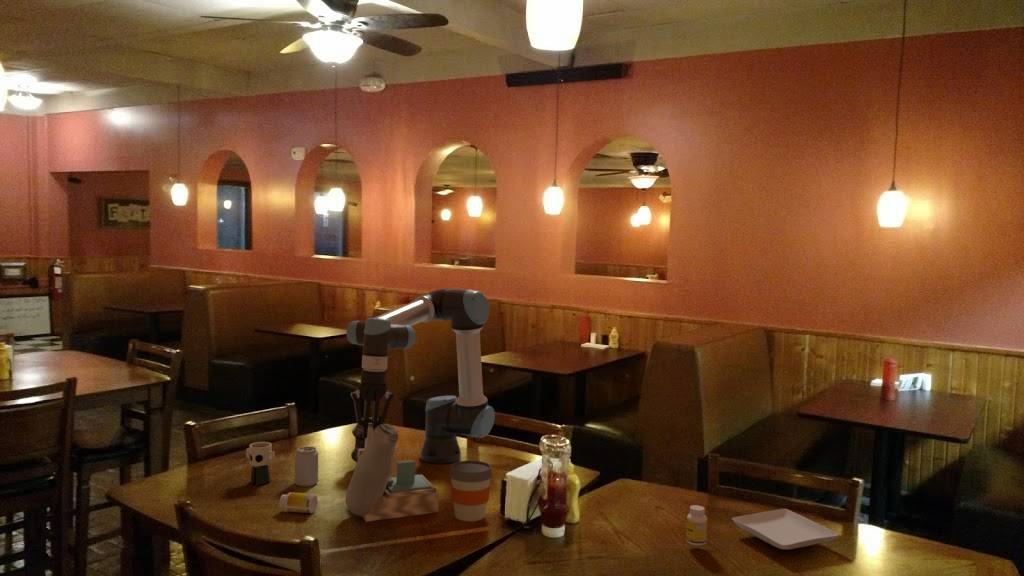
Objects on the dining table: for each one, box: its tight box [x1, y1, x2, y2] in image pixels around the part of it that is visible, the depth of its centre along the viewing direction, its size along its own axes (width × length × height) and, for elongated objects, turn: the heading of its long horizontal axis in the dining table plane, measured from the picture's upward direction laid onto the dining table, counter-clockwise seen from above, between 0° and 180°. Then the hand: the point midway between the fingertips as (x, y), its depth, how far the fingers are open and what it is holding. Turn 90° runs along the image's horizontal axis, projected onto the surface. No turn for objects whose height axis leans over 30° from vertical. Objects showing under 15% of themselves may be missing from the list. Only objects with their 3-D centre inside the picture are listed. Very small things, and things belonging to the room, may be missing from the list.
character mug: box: [245, 441, 276, 486], centre depth 245 cm, size 11×7×13 cm, turn 72°
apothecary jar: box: [350, 417, 372, 463], centre depth 261 cm, size 12×12×18 cm
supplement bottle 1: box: [279, 491, 319, 514], centre depth 221 cm, size 6×6×10 cm
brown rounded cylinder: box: [345, 423, 399, 517], centre depth 217 cm, size 10×10×28 cm
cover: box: [386, 459, 430, 493], centre depth 227 cm, size 12×12×8 cm
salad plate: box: [731, 508, 840, 550], centre depth 212 cm, size 21×21×3 cm
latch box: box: [361, 473, 440, 522], centre depth 226 cm, size 22×16×7 cm
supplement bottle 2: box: [685, 504, 708, 546], centre depth 206 cm, size 5×5×10 cm
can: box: [294, 446, 319, 488], centre depth 245 cm, size 8×8×12 cm
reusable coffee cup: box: [449, 459, 493, 522], centre depth 221 cm, size 13×12×15 cm
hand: (368, 448), depth 221 cm, fingers closed
